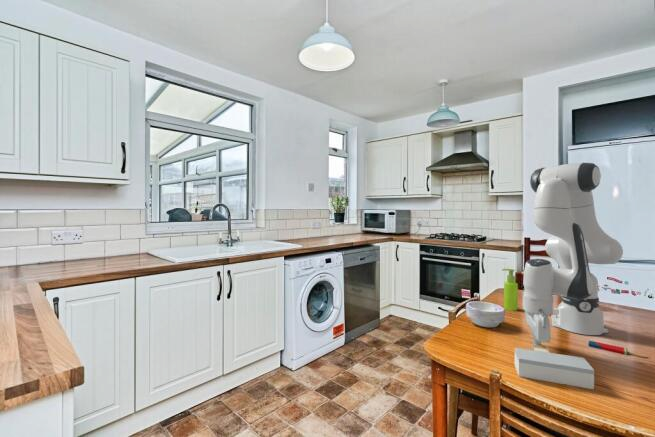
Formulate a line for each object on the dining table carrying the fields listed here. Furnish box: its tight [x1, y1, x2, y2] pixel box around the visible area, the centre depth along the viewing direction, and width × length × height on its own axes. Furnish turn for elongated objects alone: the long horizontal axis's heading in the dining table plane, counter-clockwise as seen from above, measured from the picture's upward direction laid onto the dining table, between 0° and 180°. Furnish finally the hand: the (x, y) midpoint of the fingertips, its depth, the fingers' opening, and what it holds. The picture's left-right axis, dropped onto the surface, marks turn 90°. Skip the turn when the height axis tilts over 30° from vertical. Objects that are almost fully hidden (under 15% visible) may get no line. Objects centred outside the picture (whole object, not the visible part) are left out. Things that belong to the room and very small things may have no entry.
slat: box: [531, 343, 551, 353], centre depth 102 cm, size 16×4×3 cm, turn 157°
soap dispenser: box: [501, 268, 519, 312], centre depth 159 cm, size 6×7×20 cm
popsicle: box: [588, 340, 648, 359], centre depth 112 cm, size 5×2×15 cm
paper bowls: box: [465, 300, 506, 328], centre depth 138 cm, size 15×15×8 cm
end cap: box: [513, 347, 595, 390], centre depth 95 cm, size 8×18×5 cm, turn 67°
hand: (536, 345), depth 111 cm, fingers closed
